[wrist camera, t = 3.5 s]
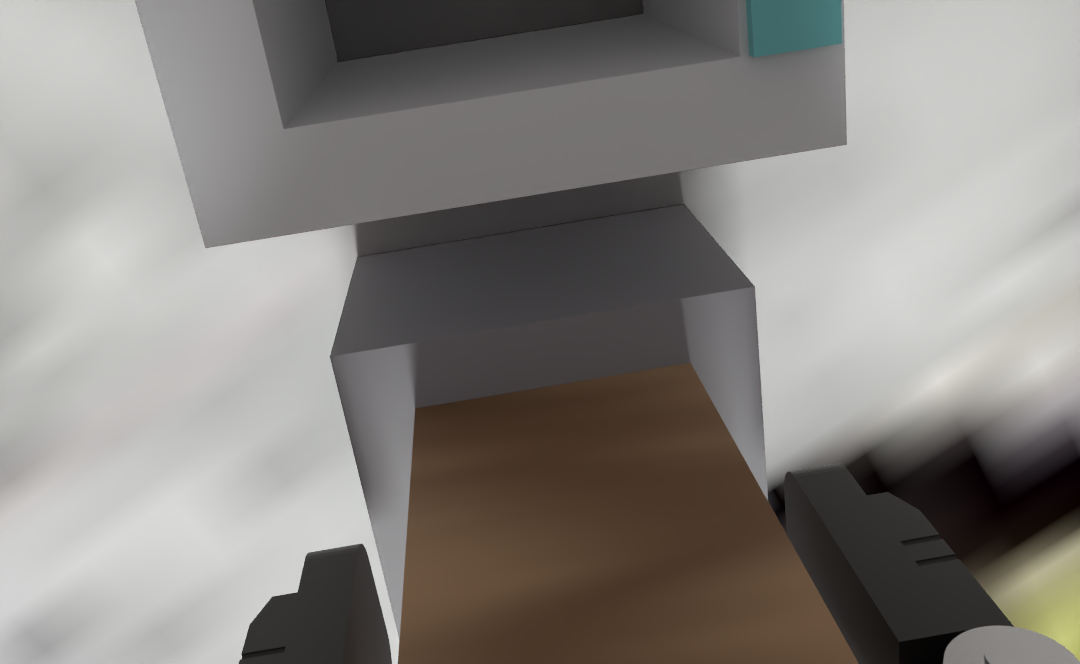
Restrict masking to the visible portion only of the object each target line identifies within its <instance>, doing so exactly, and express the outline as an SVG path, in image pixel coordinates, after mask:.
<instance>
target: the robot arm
mask: <svg viewBox="0 0 1080 664" xmlns="http://www.w3.org/2000/svg"><path fill="white" fill-rule="evenodd" d="M784 491H785V509H786V528H787V536H788V538H789V540H790V542H791V543H792V545H793V547H794V549H795V551H796V552H797V554H798V556H799V558H800V559H801V561H802V563H803V565H804V567H805V568H806V570H807V572H808V574H809V576H810V577H811V579H812V581H813V583H814V584H815V586H816V588H817V590H818V592H819V593H820V595H821V597H822V599H823V601H824V602H825V604H826V606H827V608H828V610H829V611H830V613H831V615H832V617H833V618H834V620H835V622H836V624H837V626H838V627H839V629H840V631H841V633H842V635H843V636H844V638H845V640H846V642H847V644H848V645H849V647H850V649H851V651H852V652H853V654H854V656H855V658H856V660H857V661H858V663H859V664H1080V662H1079V660H1078V659H1077V658H1076V657H1075V656H1074V655H1073V654H1072V653H1071V652H1070V651H1069V650H1068V649H1066V648H1065V647H1064V646H1062V645H1061V644H1059V643H1058V642H1056V641H1055V640H1053V639H1051V638H1049V637H1047V636H1045V635H1042V634H1039V633H1037V632H1034V631H1031V630H1027V629H1023V628H1018V627H1014V626H1013V625H1012V624H1011V622H1010V621H1009V620H1008V619H1007V617H1006V616H1005V615H1004V614H1003V613H1002V611H1001V610H1000V609H999V608H998V606H997V605H996V604H995V603H994V601H993V600H992V599H991V598H990V597H989V595H988V594H987V593H986V592H985V590H984V589H983V588H982V587H981V585H980V584H979V583H978V582H977V581H976V579H975V578H974V577H973V576H972V574H971V573H970V572H969V571H968V569H967V568H966V567H965V566H964V564H963V563H962V562H961V561H960V560H959V559H956V557H955V553H954V552H953V551H952V550H951V548H950V547H949V546H948V545H947V544H946V542H945V541H944V540H943V539H941V540H940V537H939V534H938V532H937V531H936V530H935V529H934V527H933V526H932V525H931V524H930V523H929V521H928V520H927V519H926V518H925V516H924V515H923V514H922V513H921V511H920V510H918V509H916V508H915V507H913V506H911V505H909V504H907V503H906V502H904V501H902V500H900V499H899V498H897V497H895V496H893V495H892V494H890V493H888V492H886V493H880V494H874V495H868V496H867V495H866V494H865V493H864V491H863V490H862V489H861V487H860V486H859V485H858V483H857V482H856V481H855V479H854V478H853V476H852V475H851V474H850V472H849V471H848V470H847V468H846V467H845V466H844V465H843V464H841V463H837V464H831V465H825V466H820V467H814V468H808V469H802V470H796V471H790V472H787V473H786V476H785V481H784ZM239 664H392V660H391V651H390V644H389V639H388V634H387V630H386V626H385V622H384V618H383V614H382V610H381V606H380V602H379V598H378V594H377V590H376V586H375V582H374V578H373V574H372V570H371V566H370V562H369V559H368V555H367V552H366V549H365V547H364V546H363V544H357V545H351V546H345V547H340V548H334V549H328V550H322V551H316V552H310V553H308V554H307V556H306V558H305V562H304V567H303V571H302V576H301V580H300V585H299V589H298V593H292V594H286V595H280V596H274V597H272V598H271V599H270V601H269V602H268V603H267V604H266V605H265V607H264V608H263V609H262V610H261V612H260V613H259V614H258V615H257V617H256V618H255V619H254V620H253V621H252V623H251V624H250V626H249V629H248V633H247V637H246V640H245V644H244V647H243V651H242V659H241V660H240V661H239Z"/></svg>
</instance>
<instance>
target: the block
mask: <svg viewBox="0 0 1080 664" xmlns="http://www.w3.org/2000/svg"><path fill="white" fill-rule="evenodd" d="M398 664H859V663H858V661H857V660H856V658H855V656H854V654H853V652H852V651H851V649H850V647H849V645H848V644H847V642H846V640H845V638H844V636H843V635H842V633H841V631H840V629H839V627H838V626H837V624H836V622H835V620H834V618H833V617H832V615H831V613H830V611H829V610H828V608H827V606H826V604H825V602H824V601H823V599H822V597H821V595H820V593H819V592H818V590H817V588H816V586H815V584H814V583H813V581H812V579H811V577H810V576H809V574H808V572H807V570H806V568H805V567H804V565H803V563H802V561H801V559H800V558H799V556H798V554H797V552H796V551H795V549H794V547H793V545H792V543H791V542H790V540H789V538H788V536H787V534H786V533H785V531H784V529H783V527H782V525H781V524H780V522H779V520H778V518H777V517H776V515H775V513H774V511H773V509H772V508H771V506H770V504H769V502H768V500H767V499H766V497H765V495H764V493H763V491H762V490H761V488H760V486H759V484H758V483H757V481H756V479H755V477H754V475H753V474H752V472H751V470H750V468H749V466H748V465H747V463H746V461H745V459H744V457H743V456H742V454H741V452H740V450H739V449H738V447H737V445H736V443H735V441H734V440H733V438H732V436H731V434H730V432H729V431H728V429H727V427H726V425H725V423H724V422H723V420H722V418H721V416H720V415H719V413H718V411H717V409H716V407H715V406H714V404H713V402H712V400H711V398H710V397H709V395H708V393H707V391H706V389H705V388H704V386H703V384H702V382H701V381H700V379H699V377H698V375H697V373H696V372H695V370H694V368H693V366H692V364H691V363H685V364H679V365H673V366H667V367H661V368H655V369H649V370H643V371H637V372H631V373H625V374H619V375H613V376H607V377H601V378H595V379H589V380H583V381H577V382H571V383H565V384H559V385H553V386H547V387H541V388H535V389H529V390H523V391H517V392H511V393H505V394H499V395H493V396H487V397H481V398H475V399H469V400H463V401H457V402H451V403H445V404H439V405H433V406H427V407H421V408H415V417H414V432H413V447H412V462H411V477H410V492H409V507H408V522H407V537H406V552H405V567H404V582H403V597H402V612H401V626H400V641H399V656H398Z"/></svg>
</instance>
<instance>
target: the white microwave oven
mask: <svg viewBox="0 0 1080 664" xmlns="http://www.w3.org/2000/svg"><path fill="white" fill-rule="evenodd" d="M642 2H643V12H644V14H641V15H635V16H628V17H622V18H616V19H609V20H603V21H597V22H590V23H584V24H578V25H571V26H565V27H558V28H552V29H546V30H539V31H533V32H527V33H520V34H514V35H508V36H501V37H495V38H488V39H482V40H476V41H469V42H463V43H457V44H450V45H444V46H438V47H431V48H425V49H418V50H412V51H406V52H399V53H393V54H387V55H380V56H374V57H368V58H361V59H355V60H349V61H342V62H338V60H337V55H336V51H335V46H334V41H333V37H332V32H331V28H330V23H329V18H328V14H327V9H326V4H325V0H135V3H136V6H137V10H138V13H139V17H140V20H141V24H142V27H143V31H144V34H145V38H146V41H147V45H148V48H149V52H150V55H151V59H152V62H153V66H154V69H155V73H156V76H157V80H158V83H159V87H160V90H161V94H162V97H163V101H164V104H165V108H166V111H167V115H168V118H169V122H170V125H171V129H172V132H173V136H174V139H175V143H176V146H177V150H178V153H179V157H180V160H181V164H182V167H183V171H184V174H185V178H186V181H187V185H188V188H189V192H190V195H191V199H192V202H193V206H194V209H195V213H196V216H197V220H198V223H199V227H200V230H201V234H202V237H203V241H204V244H205V248H209V247H215V246H222V245H228V244H234V243H240V242H246V241H253V240H259V239H265V238H271V237H277V236H283V235H290V234H296V233H302V232H308V231H314V230H321V229H327V228H333V227H339V226H345V225H352V224H358V223H364V222H370V221H376V220H383V219H389V218H395V217H401V216H407V215H414V214H420V213H426V212H432V211H438V210H445V209H451V208H457V207H463V206H469V205H475V204H482V203H488V202H494V201H500V200H506V199H513V198H519V197H525V196H531V195H537V194H544V193H550V192H556V191H562V190H568V189H575V188H581V187H587V186H593V185H599V184H606V183H612V182H618V181H624V180H630V179H636V178H643V177H649V176H655V175H661V174H667V173H674V172H680V171H686V170H692V169H698V168H705V167H711V166H717V165H723V164H729V163H736V162H742V161H748V160H754V159H760V158H767V157H773V156H779V155H785V154H791V153H798V152H804V151H810V150H816V149H822V148H828V147H835V146H841V145H847V136H846V92H845V48H844V4H843V0H642Z"/></svg>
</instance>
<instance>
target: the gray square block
mask: <svg viewBox="0 0 1080 664" xmlns="http://www.w3.org/2000/svg"><path fill="white" fill-rule="evenodd" d="M330 358H331V363H332V367H333V371H334V375H335V379H336V383H337V387H338V391H339V395H340V399H341V403H342V407H343V411H344V416H345V420H346V424H347V428H348V432H349V436H350V440H351V444H352V448H353V452H354V456H355V460H356V464H357V469H358V473H359V477H360V481H361V485H362V489H363V493H364V497H365V501H366V505H367V509H368V513H369V517H370V521H371V526H372V530H373V534H374V538H375V542H376V546H377V550H378V554H379V558H380V562H381V566H382V570H383V574H384V579H385V583H386V587H387V591H388V595H389V599H390V603H391V607H392V611H393V615H394V619H395V623H396V627H397V631H398V636H399V640H400V626H401V612H402V597H403V582H404V567H405V552H406V537H407V522H408V507H409V492H410V477H411V462H412V447H413V432H414V417H415V408H421V407H427V406H433V405H439V404H445V403H451V402H457V401H463V400H469V399H475V398H481V397H487V396H493V395H499V394H505V393H511V392H517V391H523V390H529V389H535V388H541V387H547V386H553V385H559V384H565V383H571V382H577V381H583V380H589V379H595V378H601V377H607V376H613V375H619V374H625V373H631V372H637V371H643V370H649V369H655V368H661V367H667V366H673V365H679V364H685V363H691V364H692V366H693V368H694V370H695V372H696V373H697V375H698V377H699V379H700V381H701V382H702V384H703V386H704V388H705V389H706V391H707V393H708V395H709V397H710V398H711V400H712V402H713V404H714V406H715V407H716V409H717V411H718V413H719V415H720V416H721V418H722V420H723V422H724V423H725V425H726V427H727V429H728V431H729V432H730V434H731V436H732V438H733V440H734V441H735V443H736V445H737V447H738V449H739V450H740V452H741V454H742V456H743V457H744V459H745V461H746V463H747V465H748V466H749V468H750V470H751V472H752V474H753V475H754V477H755V479H756V481H757V483H758V484H759V486H760V488H761V490H762V491H763V493H764V495H765V497H766V499H767V500H768V493H767V477H766V461H765V445H764V428H763V412H762V396H761V380H760V364H759V348H758V332H757V316H756V300H755V286H754V285H753V284H752V283H751V282H750V281H749V279H748V278H747V277H746V276H745V275H744V274H743V272H742V271H741V270H740V269H739V268H738V267H737V265H736V264H735V263H734V262H733V261H732V260H731V258H730V257H729V256H728V255H727V254H726V253H725V251H724V250H723V249H722V248H721V247H720V246H719V244H718V243H717V242H716V241H715V240H714V239H713V237H712V236H711V235H710V234H709V233H708V232H707V230H706V229H705V228H704V227H703V226H702V225H701V223H700V222H699V221H698V220H697V219H696V218H695V216H694V215H693V214H692V213H691V212H690V210H689V209H688V208H687V207H686V206H685V205H684V204H683V205H676V206H670V207H664V208H658V209H652V210H646V211H639V212H633V213H627V214H621V215H615V216H609V217H602V218H596V219H590V220H584V221H578V222H572V223H566V224H559V225H553V226H547V227H541V228H535V229H529V230H522V231H516V232H510V233H504V234H498V235H492V236H485V237H479V238H473V239H467V240H461V241H455V242H448V243H442V244H436V245H430V246H424V247H418V248H412V249H405V250H399V251H393V252H387V253H381V254H375V255H368V256H362V257H357V260H356V263H355V267H354V271H353V274H352V278H351V282H350V285H349V289H348V293H347V296H346V300H345V304H344V307H343V311H342V315H341V318H340V322H339V326H338V329H337V333H336V337H335V340H334V344H333V348H332V351H331V355H330Z"/></svg>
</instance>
